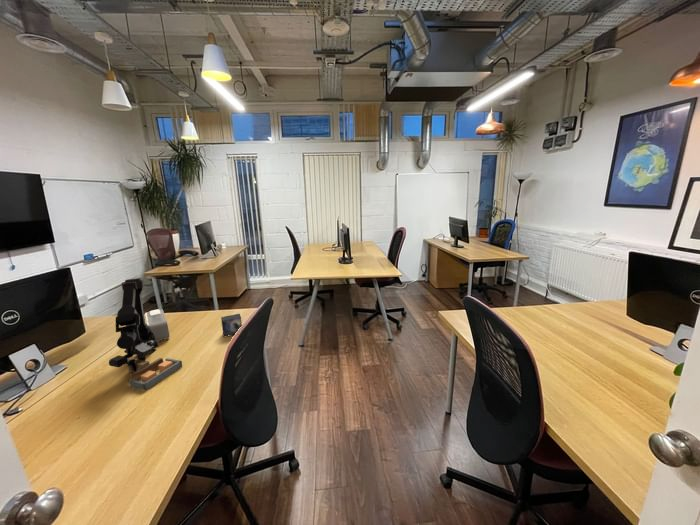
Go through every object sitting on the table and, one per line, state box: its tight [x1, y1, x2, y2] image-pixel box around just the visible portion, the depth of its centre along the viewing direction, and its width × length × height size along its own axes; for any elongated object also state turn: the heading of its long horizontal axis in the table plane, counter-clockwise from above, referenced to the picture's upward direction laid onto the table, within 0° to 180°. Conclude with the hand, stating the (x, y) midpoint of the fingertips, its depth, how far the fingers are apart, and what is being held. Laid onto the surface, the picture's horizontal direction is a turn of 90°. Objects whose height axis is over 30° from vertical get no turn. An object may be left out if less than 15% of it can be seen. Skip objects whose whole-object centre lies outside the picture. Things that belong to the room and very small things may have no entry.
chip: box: [140, 371, 158, 382], centre depth 123 cm, size 4×4×4 cm
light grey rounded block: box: [144, 308, 170, 342], centre depth 168 cm, size 27×9×12 cm, turn 38°
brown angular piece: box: [126, 357, 164, 381], centre depth 130 cm, size 11×14×5 cm
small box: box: [220, 313, 243, 337], centre depth 166 cm, size 11×6×10 cm, turn 117°
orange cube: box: [158, 360, 173, 373], centre depth 131 cm, size 4×4×4 cm
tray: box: [128, 357, 183, 391], centre depth 127 cm, size 9×18×3 cm, turn 162°
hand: (138, 369), depth 131 cm, fingers closed on brown angular piece, 3 cm apart
